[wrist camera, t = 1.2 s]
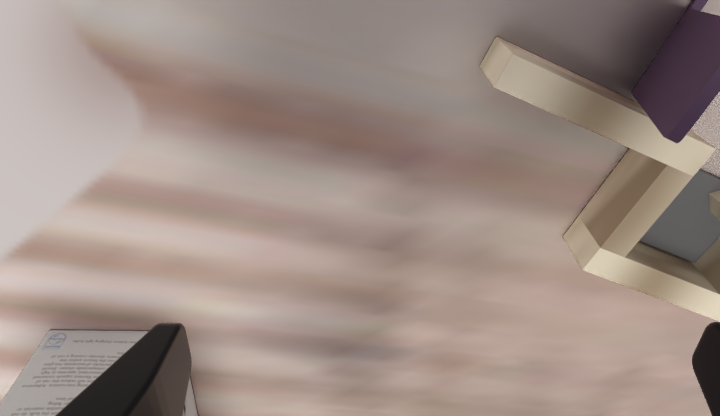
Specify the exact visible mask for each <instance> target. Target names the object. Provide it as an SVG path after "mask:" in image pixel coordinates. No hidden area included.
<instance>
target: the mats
mask: <svg viewBox="0 0 720 416" xmlns="http://www.w3.org/2000/svg"><path fill="white" fill-rule="evenodd" d="M718 190H720V178H718V177H716V176H714V175H712V174H710V173H707V172H705V171H703V170H701V169H699V170H698V172H697V173H696V174H695V175H694V176H693V178H692V179H691V180H690V181H689V182H688V183H687V185H686V186H685V187H684V188H683V189H682V191H681V192H680V193H679V194H678V195H677V196H676V198H675V199H674V200H673V201H672V202H671V203H670V205H669V206H668V207H667V208H666V209H665V211H664V212H663V213H662V214H661V215H660V216H659V218H658V219H657V220H656V221H655V222H654V224H653V225H652V226H651V227H650V228H649V229H648V231H647V232H646V233H645V234H644V235H643V237H642V238H641V239H640V240H639V241H641V242H644V243H646V244H649V245H651V246H654V247H656V248H659V249H661V250H664V251H666V252H669V253H671V254H674V255H676V256H679V257H681V258H684V259H686V260H689V261H691V262H694V263H695V262H696V261H697V260H698V259H699V258H700V257H701V256H702V255H703V254H704V253H705V252H706V250H707V249H708V248H709V247H710V246H711V245H712V244H713V243H714V242H715V241H716V240H717V239H718V238H719V237H720V221H719V220H718V219H717V218H716V217H715V216H714V215H713V214H712V213H711V212H710V200H709V193H712V192H715V191H718Z"/></svg>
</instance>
